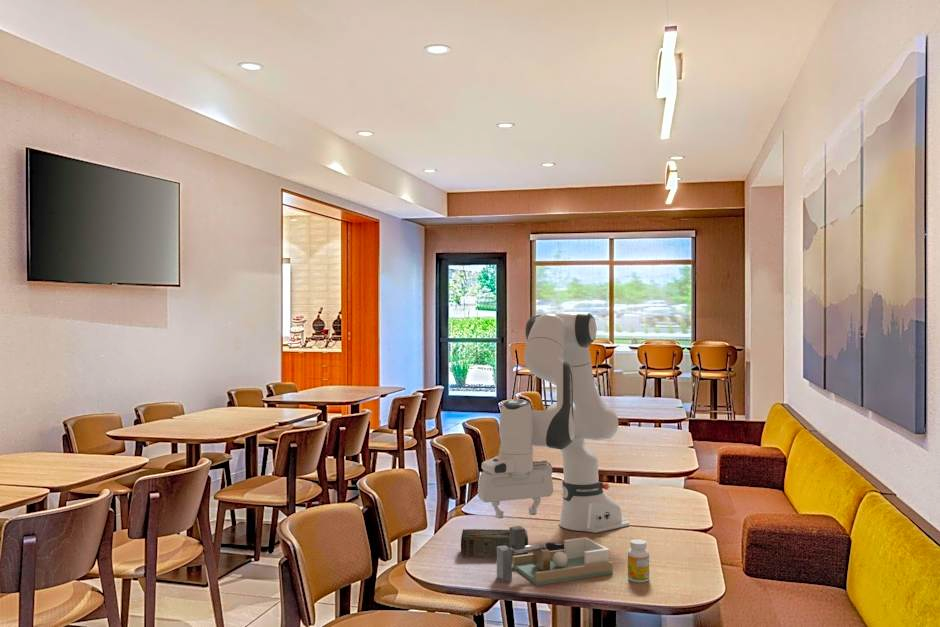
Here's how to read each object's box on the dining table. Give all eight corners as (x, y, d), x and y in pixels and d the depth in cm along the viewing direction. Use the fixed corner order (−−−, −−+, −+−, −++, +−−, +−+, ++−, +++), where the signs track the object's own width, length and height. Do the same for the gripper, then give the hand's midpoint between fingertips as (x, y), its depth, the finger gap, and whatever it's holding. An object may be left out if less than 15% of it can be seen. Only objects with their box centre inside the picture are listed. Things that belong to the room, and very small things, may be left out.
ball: (563, 563, 208) (563, 548, 208) (570, 568, 204) (570, 553, 204) (550, 565, 207) (549, 550, 206) (557, 570, 203) (556, 555, 203)
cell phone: (571, 547, 227) (571, 544, 227) (558, 561, 214) (558, 559, 214) (547, 544, 230) (547, 542, 230) (532, 558, 217) (532, 555, 217)
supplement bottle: (625, 576, 201) (625, 538, 201) (645, 575, 201) (645, 538, 201) (631, 583, 196) (631, 545, 195) (652, 582, 196) (651, 544, 196)
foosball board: (584, 556, 217) (583, 535, 217) (612, 573, 203) (612, 551, 203) (512, 567, 209) (512, 545, 209) (537, 585, 195) (537, 561, 195)
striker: (539, 563, 207) (539, 521, 206) (550, 570, 201) (549, 527, 201) (505, 568, 203) (505, 525, 203) (515, 576, 197) (514, 531, 197)
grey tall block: (505, 575, 202) (505, 545, 202) (512, 580, 198) (511, 549, 198) (496, 577, 201) (496, 546, 201) (503, 582, 197) (502, 550, 197)
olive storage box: (529, 558, 216) (528, 535, 216) (460, 559, 217) (460, 535, 216) (527, 549, 224) (526, 527, 224) (461, 550, 225) (460, 527, 224)
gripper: (546, 458, 207) (546, 509, 207) (475, 463, 200) (475, 516, 200) (557, 462, 201) (557, 515, 201) (485, 467, 194) (485, 522, 194)
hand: (516, 516), depth 201 cm, fingers open, 8 cm apart
